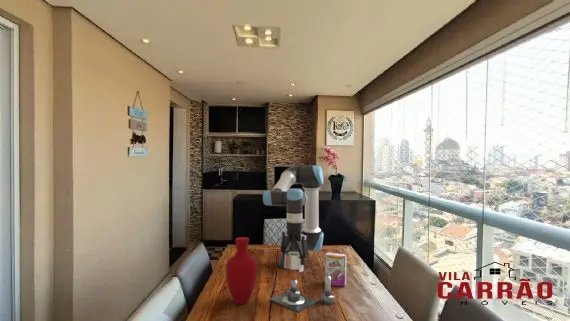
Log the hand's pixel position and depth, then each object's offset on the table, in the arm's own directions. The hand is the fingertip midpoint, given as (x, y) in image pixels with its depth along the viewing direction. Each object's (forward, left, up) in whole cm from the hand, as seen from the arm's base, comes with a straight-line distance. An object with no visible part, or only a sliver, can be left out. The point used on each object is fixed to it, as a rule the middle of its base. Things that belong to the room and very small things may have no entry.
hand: (293, 269), depth 153 cm
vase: (-18, -17, -16) cm, 29 cm away
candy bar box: (+3, +32, -16) cm, 36 cm away
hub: (0, 0, -15) cm, 15 cm away
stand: (+12, +11, -15) cm, 22 cm away
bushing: (0, 0, +1) cm, 1 cm away
